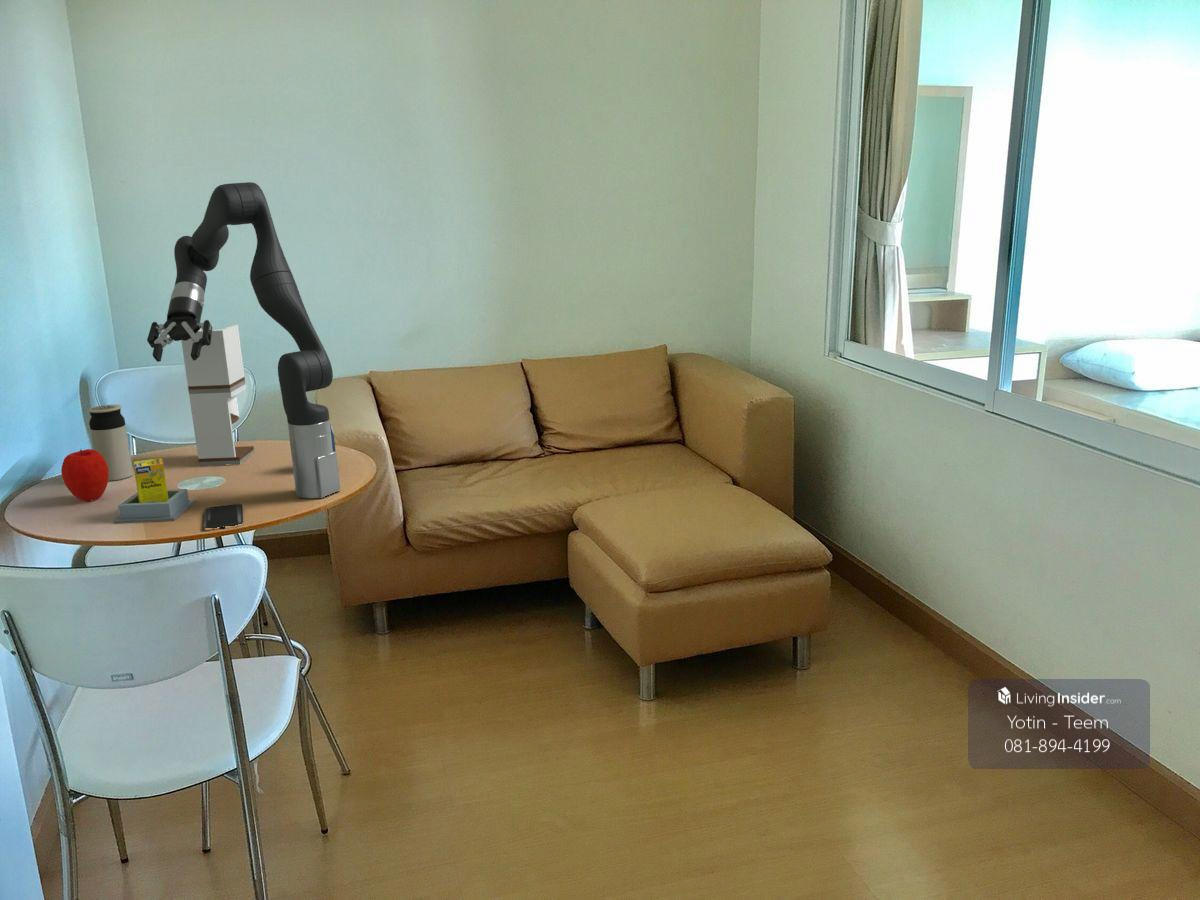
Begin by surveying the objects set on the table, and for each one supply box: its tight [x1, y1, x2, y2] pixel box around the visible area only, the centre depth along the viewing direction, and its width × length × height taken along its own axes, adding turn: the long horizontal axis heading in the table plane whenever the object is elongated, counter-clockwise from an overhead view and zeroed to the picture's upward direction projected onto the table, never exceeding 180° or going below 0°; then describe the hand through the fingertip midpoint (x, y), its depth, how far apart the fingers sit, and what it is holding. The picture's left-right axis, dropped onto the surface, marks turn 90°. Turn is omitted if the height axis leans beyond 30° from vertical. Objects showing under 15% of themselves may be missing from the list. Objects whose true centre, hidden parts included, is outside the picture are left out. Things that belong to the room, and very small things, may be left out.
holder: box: [112, 488, 196, 524], centre depth 220 cm, size 13×13×4 cm
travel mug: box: [87, 404, 134, 482], centre depth 248 cm, size 8×8×18 cm
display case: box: [180, 324, 255, 467], centre depth 259 cm, size 11×11×35 cm
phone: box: [203, 503, 244, 529], centre depth 215 cm, size 8×1×15 cm
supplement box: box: [132, 457, 168, 503], centre depth 219 cm, size 6×6×11 cm
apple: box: [60, 448, 109, 502], centre depth 231 cm, size 10×10×12 cm
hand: (175, 359), depth 235 cm, fingers open, 8 cm apart
